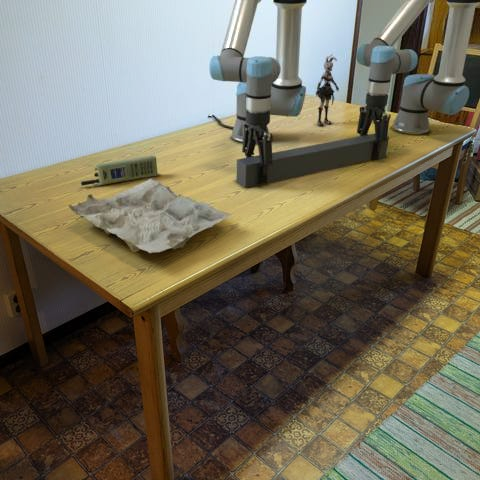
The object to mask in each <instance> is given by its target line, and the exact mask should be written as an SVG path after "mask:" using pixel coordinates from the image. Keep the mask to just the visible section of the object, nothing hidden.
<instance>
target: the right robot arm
mask: <svg viewBox="0 0 480 480" xmlns="http://www.w3.org/2000/svg"><path fill="white" fill-rule="evenodd" d="M433 2H435V0H403V1H402V3H401V4H400V5H399V7H398V8H397V10H395V11H394V13H393V14H392V16H390V18H389V19H388V20H387V22H386V23H385V24H384V26H382V28H381V29H380V30H379V32H378V33H377V34H376V35H375V37H374V38H373V40H371V42H370V43H362V44H361V45H360V46H359V47H358V48H357V51H356V56H355V58H356V61H357V63H358V64H359V65H361V66H364V67H368V68H369V73H368V79H367V86H366V87H367V88H366V95H365V106H360V107H359V117H358V123H357V128H356V133H357V134H359V136H365V135H369V130H370V127H371V125H372V123H373V125H374V134H375V138H376V141H375V142H374V144H373V151H372V158H371V159H372V160H371V161H375V160H379V159H378V157H379V151H380V150H381V145H382V142H386V141H387V137H389V135H388V134H389V125H390V120H391V118H392V115H391V114H387V113H386V107H387V105H388V101H389V95H388V94H389V93H390V88H391V81H392V75H397V74H403V73H408V72H411V71H413V70H414V69H415V68H416V67H417V65H418V61H419V60H418V59H419V58H418V54H417V53H416V51H414V50H413V49H407V48H404V49H398V48H395V46H396V44H397V43H398V42H399V40H400V39H401V38H402V37H403V36H404V34H405V33H406V32H407V31H408V30H409V29H410V26H412V24H414V22H415V21H416V19H417V18H418V17H419V15H420V14H421V13H422V12H423V11H424V10H425V8H426V7H427V6H428V5H429V4H431V3H433ZM446 4H447V5H448V6H449V11H448V17H447V23H446V29H445V35H444V40H443V46H442V50H441V58H440V64H439V70H438V73H437V75H435V74H429V73H419V74H417V73H416V74H409V75H407V76H406V77H405V78H404V82H403V85H402V92H401V93H402V94H401V98H400V104H399V111H398V112H397V115H396V117H395V118H394V120H393V123H392V127H391V128H392V130H393V131H395V132H397V133H399V134H400V133H401V134H403V135H410V136H411V135H412V136H421V135H426V134H428V133H429V131H430V119H429V111H432V112H437V113H440V114H442V115H448V116H454V115H457V114H458V113H459V112H461V111H462V110H463V108H464V107H465V106H466V104H467V102H468V99H469V96H470V90H469V87H468V86H466V85H465V84H466V78H465V76H463V72H464V67H465V61H466V57H467V53H468V46H469V43H470V37H471V31H472V28H473V27H472V26H473V21H474V16H475V10H476V7H478V5H480V0H446ZM379 138H380V139H379Z"/></svg>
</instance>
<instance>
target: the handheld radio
mask: <svg viewBox="0 0 480 480" xmlns="http://www.w3.org/2000/svg"><path fill="white" fill-rule="evenodd" d="M157 164H158V163H157V156H156V155H147V156H141V157H140V156H139V157H134V158H127V159H121V160H115V161H108V162H101V163H96V164H93V167H94V168H93V171H97V172H95V173H94V174H93V175H94V177H96V179H90V180H83V181H82V180H81V181H80V185H81V186H88V185H93V184H94V185H96V186H97V187H98V186H99V187H100V186H105V185H109V184H115V183H121V182H128V181H134V180H139V179H144V178H151V177H156V176H158V175H159V174H158V165H157Z"/></svg>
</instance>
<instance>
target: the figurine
mask: <svg viewBox="0 0 480 480" xmlns="http://www.w3.org/2000/svg"><path fill="white" fill-rule="evenodd" d="M333 60H334V61H335V62H337V61H338V60H337V58H336V56H333V53H332V54H330V55H328V56H326V57H325V62H324V63H323V69H324V70H325V71H324V72H323V73H322V75H321V77H320V80H319V82H318V83H317V87H316V92H315V97H317V98H319V99H320V104H319V106H318V107H317V109H318V119H317V121H316V122H317V125H318V126H319V127H324V124H325V123H326V124H327V125H331V124H332V120H331V121H330V120H329V119H328V113H329V108H330V105H329V104H330V101H331V106H333V104H334V102H335V95H334V93H335V92H337V93H338V92H340V88H339V86H338V85H337V83H336V81H335V80H334V77H333V74H332V71H333V67H334V63H333ZM323 81H324V83H323V85H322V82H323ZM331 83H332V84H333V85H334V87H335V90H334V89H333V85H331ZM321 85H322V86H321ZM323 111H324V121H323V122H322V112H323Z"/></svg>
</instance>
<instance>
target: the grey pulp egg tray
mask: <svg viewBox="0 0 480 480" xmlns="http://www.w3.org/2000/svg"><path fill="white" fill-rule="evenodd" d="M68 208H69V209H70V210H71V211H72V213H74V214H75V215H78V216H79V218H80V219H83V218H85V219H86V220H87V221H89V222H91V223H92V224H93V225H94V226H95V227H96V228H98V229H101V230H103V231H104V232H105V233H106V234H107V235H108V236H110V235H111V234H113V235H116V236H117V237H118V238H120V239H121V240H123V241H124V243H125V244H127V246H128V248H129V249H130V251H131V252H132V253H133V252H134V253H136V252H139V251H141V250H142V251H145V252H147V253H149V254H152V253H162V252H164V251H166V250H169V249H173V250H177V249H178V248H181V249H182V248H184V247H185V245H186V243H187V242H188V241H190V239H191V238H192V237H193V236H194V235H196V234H199V233H200V232H202V231H204V230H206V229H208V228H213V226H215V224H219V222H222V221H223V220H224V219H226V218H229V217H230V216H232V213H227V212H226V211H225V212H224V211H222V210H219V209H216V208H214V207H213V206H212V205H211V204H210V203H205V202H204V201H196V200H194V199H192V198H189V196H184V195H181V194H178V195H177V194H175V193H174V192H173V190H172V189H171V188H170V186H167V185H163V184H162V183H161V182H160V181H159V180H156V179H153V178H149V179H147V180H145V181H143V182H141V183H139V184H136V185H134V186H133V187H130V188H129V189H125V190H123V191H121V192H120V193H117V194H115V195H113V196H111V197H109V198H101V199H99V198H96V197H94V196H93V194H88V195H87V197H86V200H85V201H82V202H80V201H79V202H78V203H77V205H72V204H68Z"/></svg>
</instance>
